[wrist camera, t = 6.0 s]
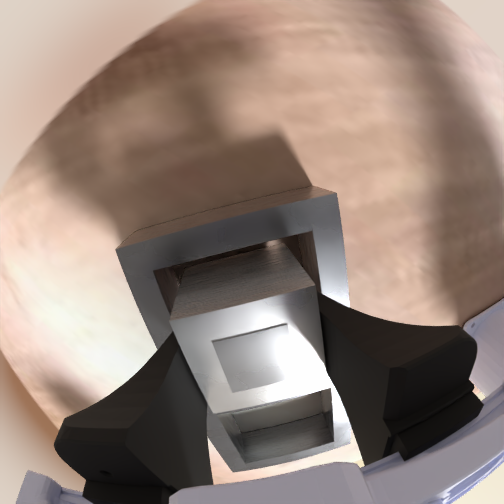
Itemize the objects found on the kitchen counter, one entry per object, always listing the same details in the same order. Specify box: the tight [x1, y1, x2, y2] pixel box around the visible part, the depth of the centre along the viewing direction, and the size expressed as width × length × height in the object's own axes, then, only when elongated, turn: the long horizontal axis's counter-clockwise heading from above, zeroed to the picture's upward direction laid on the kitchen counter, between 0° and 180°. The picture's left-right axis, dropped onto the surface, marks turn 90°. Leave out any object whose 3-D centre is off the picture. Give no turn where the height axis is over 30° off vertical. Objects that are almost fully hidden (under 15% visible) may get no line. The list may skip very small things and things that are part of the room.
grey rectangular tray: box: [115, 186, 351, 472], centre depth 15 cm, size 9×18×3 cm, turn 13°
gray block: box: [169, 243, 327, 414], centre depth 11 cm, size 4×4×5 cm
